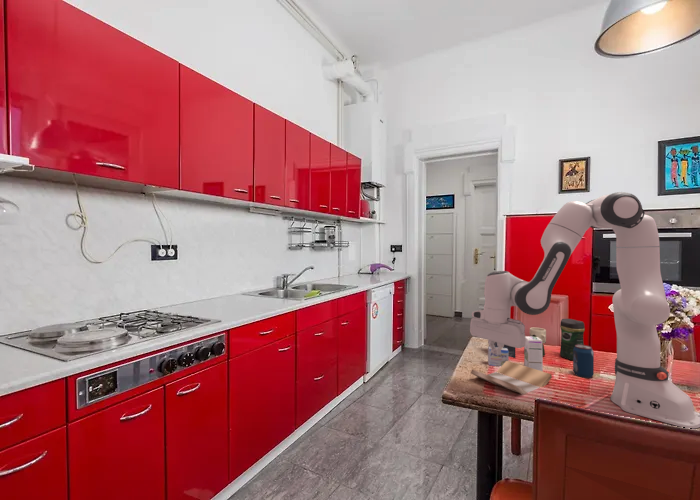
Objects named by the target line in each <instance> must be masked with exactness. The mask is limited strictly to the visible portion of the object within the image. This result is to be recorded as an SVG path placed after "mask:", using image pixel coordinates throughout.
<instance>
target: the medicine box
mask: <svg viewBox="0 0 700 500" xmlns="http://www.w3.org/2000/svg"><path fill="white" fill-rule="evenodd" d="M495 348H498V347H495ZM509 358H510V357H509V351H508V349H507V348H502V349H501V354H500V355H497V354H494V353H491V348H490V347H489V346H488V347H487V363H488V366H492V367H493V366H494V367H501V366H502V365H503V364H504V363H505V362H506V361H510V360H509Z"/></svg>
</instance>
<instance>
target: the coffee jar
mask: <svg viewBox="0 0 700 500" xmlns="http://www.w3.org/2000/svg"><path fill="white" fill-rule="evenodd" d="M559 326H560V331H561V334H560V335H561V337H560V338H561V339H560V347H559V348H560V351H559V355H560V357H562V358H564V359H567V360H570V361H573V349H574V347H575V345H585V343H584V334H585V333H584V332H585V329H586V328H585V322H584V321H581V320H577V319H573V318H562V319H561V320H560V324H559Z"/></svg>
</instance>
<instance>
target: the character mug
mask: <svg viewBox="0 0 700 500" xmlns="http://www.w3.org/2000/svg"><path fill="white" fill-rule="evenodd" d="M529 336H533V337H538V338H539V339H541V340H542V354H543V356H545V355H546V353H545V345H544V344H546V342H547V330H546V329H545V328H541V327H533V326H532V327H529Z"/></svg>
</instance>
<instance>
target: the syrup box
mask: <svg viewBox="0 0 700 500" xmlns="http://www.w3.org/2000/svg"><path fill="white" fill-rule="evenodd" d="M525 341H526V344H525V346H524V347H523V350H524V351H523V352H524V353H523V355H524V356H523V357H524V358H523V360H524V361H523V362H524V363H523V364H524V365H523V366H526V367H530V368H533V369H536V370H539V371H543V370H544V369H543V367H544V366H543V362H544V361H543V360H544V359H543V354H542V340H541V339H539V338H538V337H533V336H530V335H529V336H527V335H525ZM543 372H544V371H543Z"/></svg>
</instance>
